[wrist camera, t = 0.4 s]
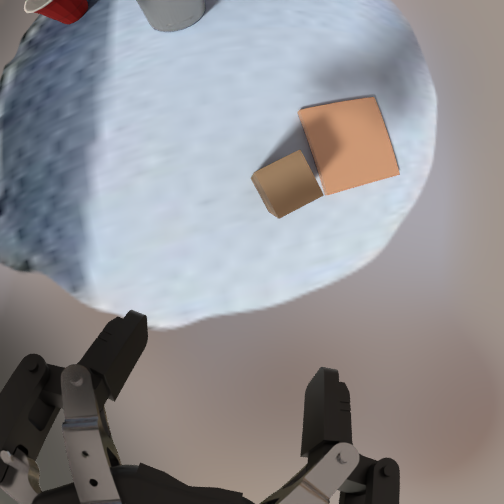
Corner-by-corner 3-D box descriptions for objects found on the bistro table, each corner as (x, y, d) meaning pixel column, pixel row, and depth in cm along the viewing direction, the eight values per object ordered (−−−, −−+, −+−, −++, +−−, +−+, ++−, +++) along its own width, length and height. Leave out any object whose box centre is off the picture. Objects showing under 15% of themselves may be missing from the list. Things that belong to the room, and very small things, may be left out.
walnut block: (250, 178, 35) (254, 172, 25) (284, 161, 34) (300, 149, 25) (268, 211, 36) (278, 218, 26) (301, 194, 35) (323, 195, 26)
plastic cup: (49, 44, 27) (15, 22, 15) (59, 8, 25) (32, -15, 13) (95, 21, 27) (65, -11, 15) (103, -13, 25) (80, -44, 13)
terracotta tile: (297, 112, 33) (299, 109, 32) (370, 99, 32) (374, 96, 31) (325, 195, 35) (327, 195, 34) (395, 174, 35) (399, 174, 34)
